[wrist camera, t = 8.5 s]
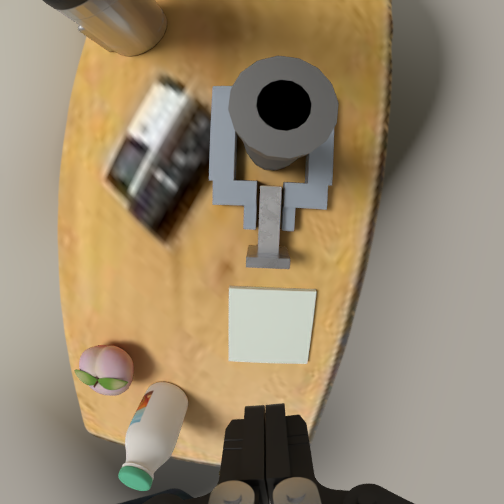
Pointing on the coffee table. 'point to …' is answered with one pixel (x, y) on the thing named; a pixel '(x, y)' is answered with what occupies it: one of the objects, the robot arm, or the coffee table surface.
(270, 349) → the board
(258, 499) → the robot arm
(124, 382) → the decorative fruit
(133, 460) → the milk bottle
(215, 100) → the socket block
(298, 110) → the candle holder
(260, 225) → the grey t-shaped block
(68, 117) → the coffee table surface
